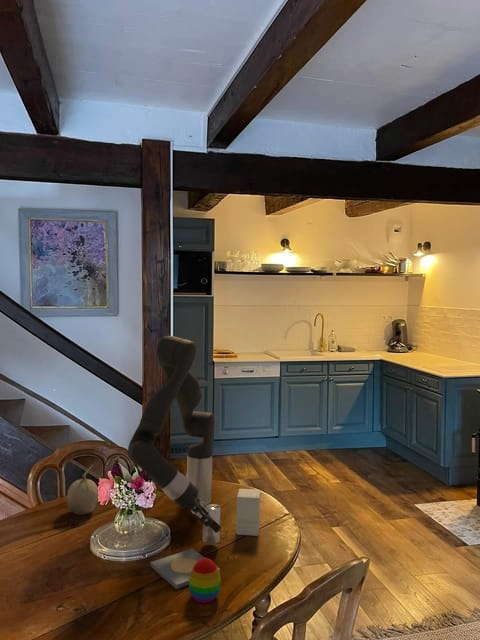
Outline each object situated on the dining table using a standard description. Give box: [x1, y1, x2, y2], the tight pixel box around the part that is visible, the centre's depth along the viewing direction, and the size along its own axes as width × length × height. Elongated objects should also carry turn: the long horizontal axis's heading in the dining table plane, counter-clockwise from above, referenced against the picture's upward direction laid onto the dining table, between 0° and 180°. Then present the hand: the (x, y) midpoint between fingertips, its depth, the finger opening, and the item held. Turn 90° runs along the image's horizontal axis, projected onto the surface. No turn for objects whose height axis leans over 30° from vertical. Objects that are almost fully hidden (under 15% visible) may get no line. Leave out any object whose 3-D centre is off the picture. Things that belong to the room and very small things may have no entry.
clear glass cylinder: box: [202, 503, 222, 545], centre depth 164 cm, size 5×5×10 cm
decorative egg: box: [188, 557, 222, 604], centre depth 137 cm, size 8×8×10 cm
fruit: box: [66, 464, 99, 515], centre depth 184 cm, size 10×12×15 cm
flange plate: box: [150, 548, 221, 590], centre depth 150 cm, size 14×14×1 cm
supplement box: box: [235, 488, 261, 537], centre depth 175 cm, size 7×7×13 cm
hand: (217, 525), depth 164 cm, fingers closed on clear glass cylinder, 5 cm apart
